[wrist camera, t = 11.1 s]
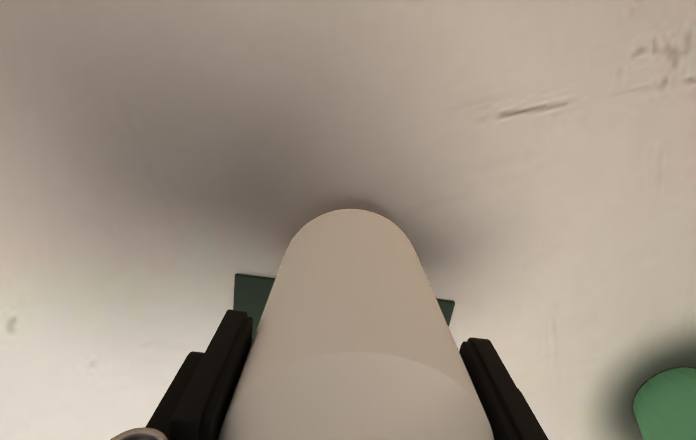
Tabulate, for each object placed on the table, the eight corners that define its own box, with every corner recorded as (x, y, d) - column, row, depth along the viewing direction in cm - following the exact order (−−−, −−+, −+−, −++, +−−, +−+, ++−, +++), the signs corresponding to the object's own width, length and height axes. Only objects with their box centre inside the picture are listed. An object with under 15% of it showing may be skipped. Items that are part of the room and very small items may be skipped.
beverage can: (435, 288, 19) (577, 603, 7) (324, 337, 19) (296, 687, 8) (379, 178, 17) (453, 372, 5) (260, 239, 18) (107, 514, 6)
